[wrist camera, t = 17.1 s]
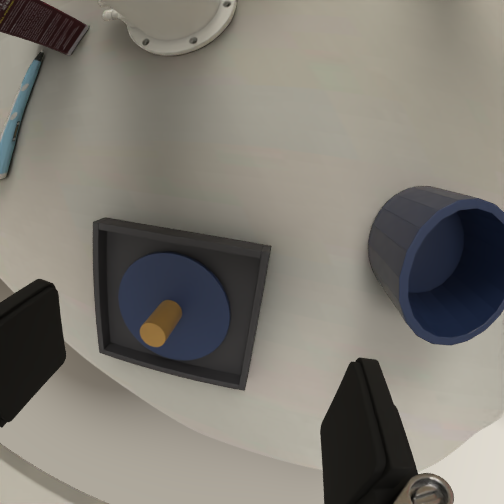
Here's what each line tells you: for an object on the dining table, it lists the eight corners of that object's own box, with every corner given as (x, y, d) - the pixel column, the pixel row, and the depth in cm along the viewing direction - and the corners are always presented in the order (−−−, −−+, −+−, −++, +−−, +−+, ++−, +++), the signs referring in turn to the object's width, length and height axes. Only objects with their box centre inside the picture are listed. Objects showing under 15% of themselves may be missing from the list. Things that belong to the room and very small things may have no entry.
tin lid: (124, 340, 38) (100, 368, 32) (123, 240, 34) (91, 257, 28) (224, 365, 37) (213, 400, 31) (239, 261, 33) (227, 286, 27)
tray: (107, 343, 39) (99, 352, 37) (104, 217, 34) (92, 221, 32) (247, 378, 38) (244, 391, 36) (271, 245, 33) (269, 252, 31)
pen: (8, 182, 35) (-5, 185, 32) (-3, 175, 35) (-16, 177, 32) (51, 52, 29) (38, 48, 26) (38, 49, 29) (26, 45, 26)
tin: (355, 288, 33) (378, 338, 23) (381, 173, 30) (422, 180, 20) (448, 303, 33) (490, 348, 23) (477, 201, 29) (533, 219, 19)
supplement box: (91, 25, 28) (7, -16, 13) (70, 57, 29) (-20, 29, 14) (58, 10, 27) (-19, -23, 12) (39, 38, 28) (-42, 15, 13)
